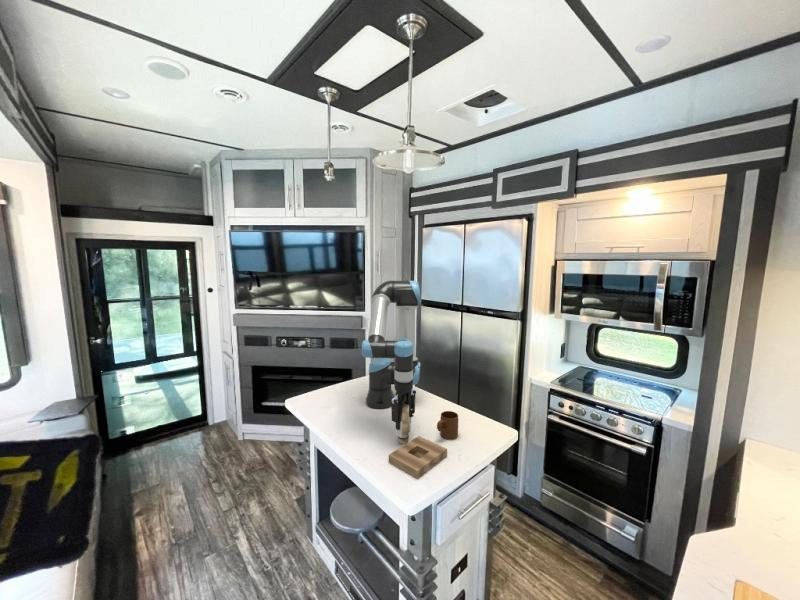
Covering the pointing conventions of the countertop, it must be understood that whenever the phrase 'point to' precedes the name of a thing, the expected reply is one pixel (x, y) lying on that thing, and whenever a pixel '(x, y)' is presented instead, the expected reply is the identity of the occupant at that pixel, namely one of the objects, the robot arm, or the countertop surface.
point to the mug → (448, 425)
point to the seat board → (417, 456)
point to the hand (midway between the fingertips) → (403, 433)
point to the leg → (405, 425)
